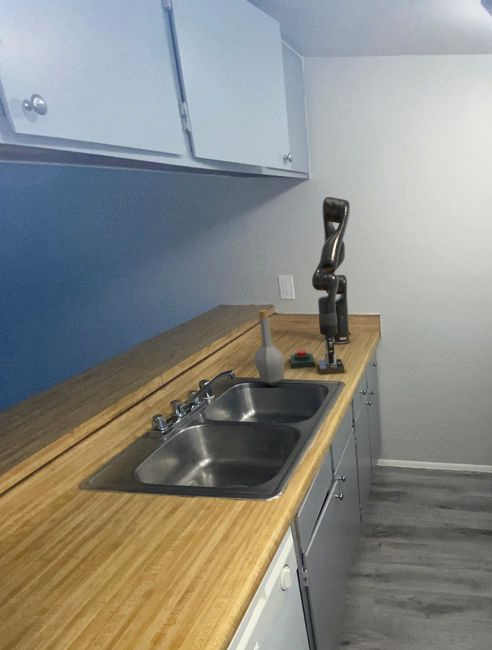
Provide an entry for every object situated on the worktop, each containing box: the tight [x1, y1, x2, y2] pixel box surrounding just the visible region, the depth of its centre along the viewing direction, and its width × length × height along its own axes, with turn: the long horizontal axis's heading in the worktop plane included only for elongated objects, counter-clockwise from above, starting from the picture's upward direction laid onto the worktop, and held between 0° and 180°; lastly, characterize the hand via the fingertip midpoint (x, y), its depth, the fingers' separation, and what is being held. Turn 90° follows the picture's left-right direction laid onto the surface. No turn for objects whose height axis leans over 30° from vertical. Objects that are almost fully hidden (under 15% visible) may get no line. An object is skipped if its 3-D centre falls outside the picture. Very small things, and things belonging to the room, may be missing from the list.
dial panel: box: [318, 358, 345, 375], centre depth 208 cm, size 12×10×3 cm
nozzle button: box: [296, 349, 307, 356], centre depth 213 cm, size 4×4×2 cm
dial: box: [324, 350, 337, 365], centre depth 206 cm, size 5×5×5 cm
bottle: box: [253, 309, 286, 387], centre depth 182 cm, size 11×11×30 cm
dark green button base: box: [290, 352, 315, 369], centre depth 214 cm, size 12×10×4 cm
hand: (330, 361), depth 207 cm, fingers closed on dial, 5 cm apart
